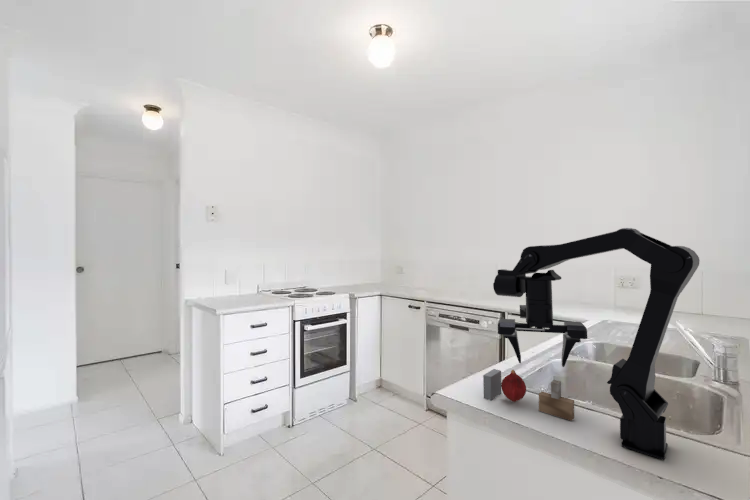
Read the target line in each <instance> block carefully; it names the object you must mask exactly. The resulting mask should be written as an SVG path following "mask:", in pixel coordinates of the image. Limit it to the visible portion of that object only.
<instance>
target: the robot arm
mask: <svg viewBox="0 0 750 500" xmlns="http://www.w3.org/2000/svg"><path fill="white" fill-rule="evenodd" d="M640 231H641V230H638V229H636V228H632V227H623V228H622V227H621V228H619V229H617V230H615V231H610V232H606V233H603V234H599V235H594V236H590V237H586V238H582V239H578V240H573V241H569V242H565V243H561V244H545V245H531V246H530V245H529V246H527V247H525V248H524V249H522V252H521V253H520V259H519V260H518V262H517V263H516V265H515V266H514V267H513V269H512V270H510V269H506V268H505V269H502V268H501V269H497V275H495V278H494V282H493V283H492V287H493V288H492V289H493V292H494V293H495V294H496V295H497V296H502V297H511V298H513V297H514V298H521V297H523V296H524V294H525V304H519V318H520V319H525V322H526V323H524V322H523V323H522V322H520V323H519V322H516V319H515V318H513V319H512V318H500V319H499V320H498V322H497V334H498V335H503V338H504V339H508V341H509V343H510V344H511V346H512V349H513V351H514V353H515V355H516V356H515V357H516V359H517V360H518V364H522V354H521V350H520V344H519V337H518V332H531V333H532V332H533V333H548V334H549V333H552V334H553V333H554V334H562V348H561V349H562V350H561V367H562V368H564V367H565V366H566V364H567V361H568V358H569V355H570V353H571V352H572V350H573V348H574V347H575V345H576V343H581V341H582V340H587V339H588V330H587V329H588V328H587V327H586V325H585V324H584V323H582V322H581V321H571V320H570V321H568V320H567V321H565V320H564V321H563V324H554V313H553V311H554V310H553V308H554V307H553V289H552V288H553V285H552V283H553V282H555V281H559V280H562V276H561V275H559V274H558V273H557V272H556V271H555V270H554V269H551V268H553V267H555V266H558V265H561V264H563V263H565V262H567V261H569V260H573V259H579V258H584V257H588V256H593V255H598V254H603V253H608V252H609V253H610V252H613V251H618V250H623V249H624V250H626V251H627V252H629V253H630V254H632V255H634V256H636V257H637V258H639V259H640V260H641V261H644V262H645V263H647V264H650V269H649V270H650V272H649V283H650V284H649V285H650V286H649V287H650V288H649V289H650V291H649V296H648V298H647V300H646V301H647V302H646V304H645V307H644V311H643V313H642V317H641V319H640V322H639V325H638V327H637V328H638V329H637V331H636V334H635V337H634V340H633V344H632V346H631V349H630V353H629V355H628V357H627V360H626V359H625V358H622V359H619V360H618V361H617V362H616V363H614V364H613V365H612V369H611V376H610V378H609V380H608V381H607V382H606V384H607V385H609V384H610V386H609V394H610V395H611V396H612V398H613V400H614V401H615V403H617V404H618V406H619V409H620V411H621V414H622V415H620V419H619V429H620V430H619V438H620V439H621V440H622V442H621V444H620V445H621V447H623V448H624V449H625V448H626V449H629V450H632V451H634V452H638V453H641V454H644V455H647V456H650V457H653V458H656V459H660V460H665V459H666V456H667V455H666V454H667V450H668V447H669V444H668V443H667V417H666V416H663V414H664V413H665V412H666V410H667V408H668V406H669V403H668V401H667V400H666V399H665V398H664V397H662V396H663V395H661V394H660V393H659V392H658V391H657V390H656V389H655V384H656V361H657V357H658V355H659V352H660V350H661V346H662V343H663V341H664V338H665V335H666V332H667V330H668V327H669V323H670V321H671V318H672V315H673V312H674V309H675V307H676V304H677V301H678V298H679V296H680V295H681V293H682V292H683V291H684V290H685V288H686V286H687V285H688V284H689V283H690V281H691V279H692V277H693V276H694V275H695V273H696V271H697V270H698V268H699V266H700V262H701V261H700V257H699V255H698V254H697V253H696V251H695V250H694V249H691V248H690V247H687V246H683V245H671V244H668V243H667V242H665V241H662V240H659V239H657V238H654V237H653V236H649V235H647V234H644V233H643V232H640ZM548 269H549V270H548ZM541 270H543V271H544V270H547V272H538V271H541ZM528 274H532V275H531V276H526V275H528Z"/></svg>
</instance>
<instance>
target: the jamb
mask: <svg viewBox="0 0 750 500" xmlns="http://www.w3.org/2000/svg"><path fill="white" fill-rule="evenodd" d="M482 376H483V379H482V380H483V383H482V384H483V399H485V400H488V401H493V400H494V399H496V397H498V396H499V395H501V394H502V387H501V383H502V370H500V369H495V368H493V369H491V370H490V371H488V372H486V373H484V374H483V375H482Z"/></svg>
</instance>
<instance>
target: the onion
mask: <svg viewBox="0 0 750 500" xmlns="http://www.w3.org/2000/svg"><path fill="white" fill-rule="evenodd" d="M526 392H527V386H526V383H525V380H523V378H522V377H521V376H520V375H519V374H517V372H516V370H514V369H512V370H511V371H510V373H509V374H508V375H505V376H504V378H503V379H501V393H503V395H504V396H505V397H506V399H508V400H509V401H510V402H512V403H517V402H518V401H520V400H522V399H523V398H524V397H525V395H526Z"/></svg>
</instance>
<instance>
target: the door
mask: <svg viewBox="0 0 750 500" xmlns="http://www.w3.org/2000/svg"><path fill="white" fill-rule="evenodd" d="M538 412H542V413H544V414H547V415H551V416H554V417H557V418H560V419H564V420H566V421H567V420H568V421H570V422H572V421H573V420H575V400H574V399H571V398H567V397H564V396H562V381H561V380H560V381H559V380H557V379H553V380H552V381H551V383H550V393H549V392H545V391H540V392H539V393H538Z"/></svg>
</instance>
